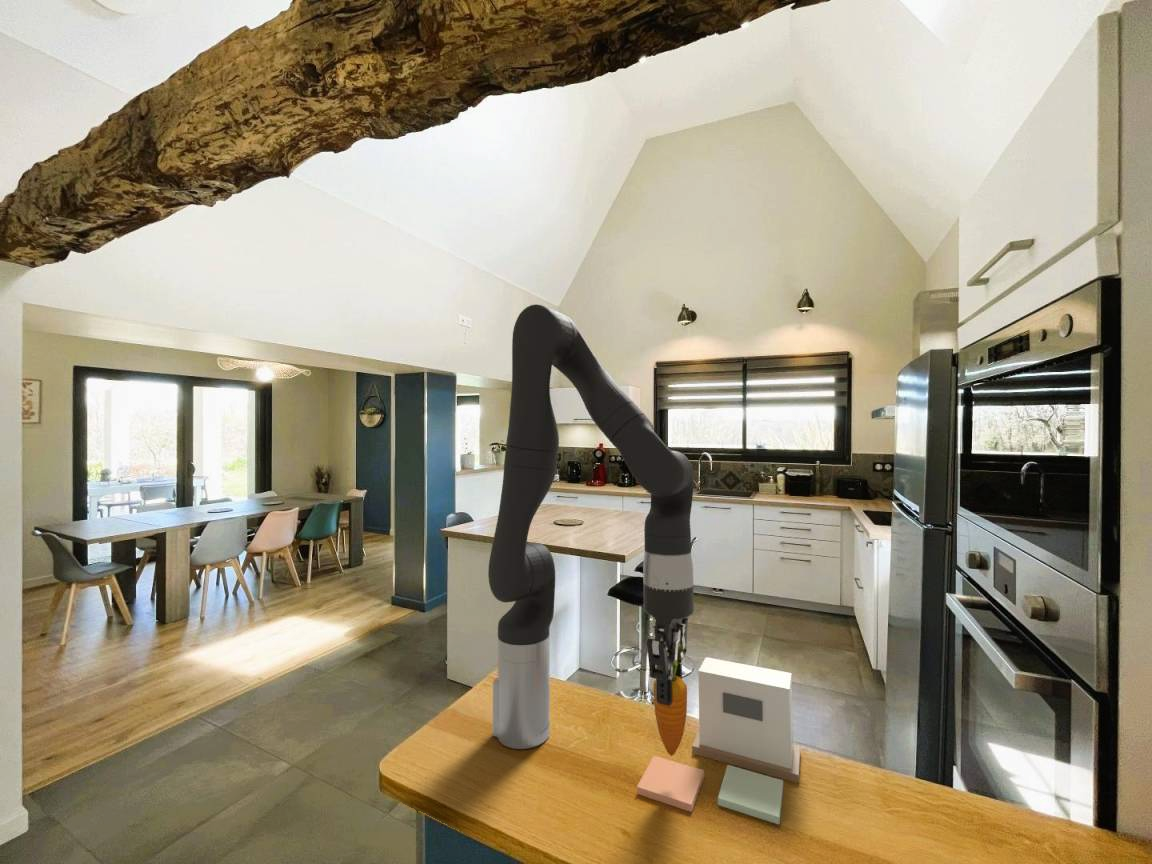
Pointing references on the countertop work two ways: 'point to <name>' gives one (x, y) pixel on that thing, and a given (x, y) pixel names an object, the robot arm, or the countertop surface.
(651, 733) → the countertop surface
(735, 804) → the sage tile
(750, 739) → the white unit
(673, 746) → the carrot
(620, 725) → the countertop surface
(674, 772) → the terracotta tile
